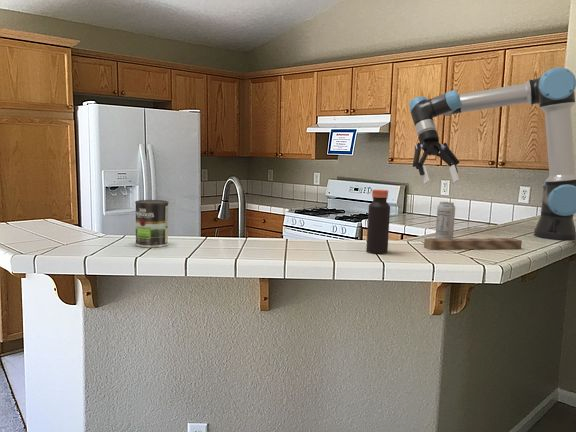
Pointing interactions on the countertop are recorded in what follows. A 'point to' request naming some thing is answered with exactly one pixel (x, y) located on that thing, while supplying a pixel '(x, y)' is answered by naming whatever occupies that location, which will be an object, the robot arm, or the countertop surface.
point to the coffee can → (151, 223)
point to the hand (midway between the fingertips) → (441, 182)
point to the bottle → (378, 223)
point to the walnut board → (471, 243)
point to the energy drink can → (445, 220)
